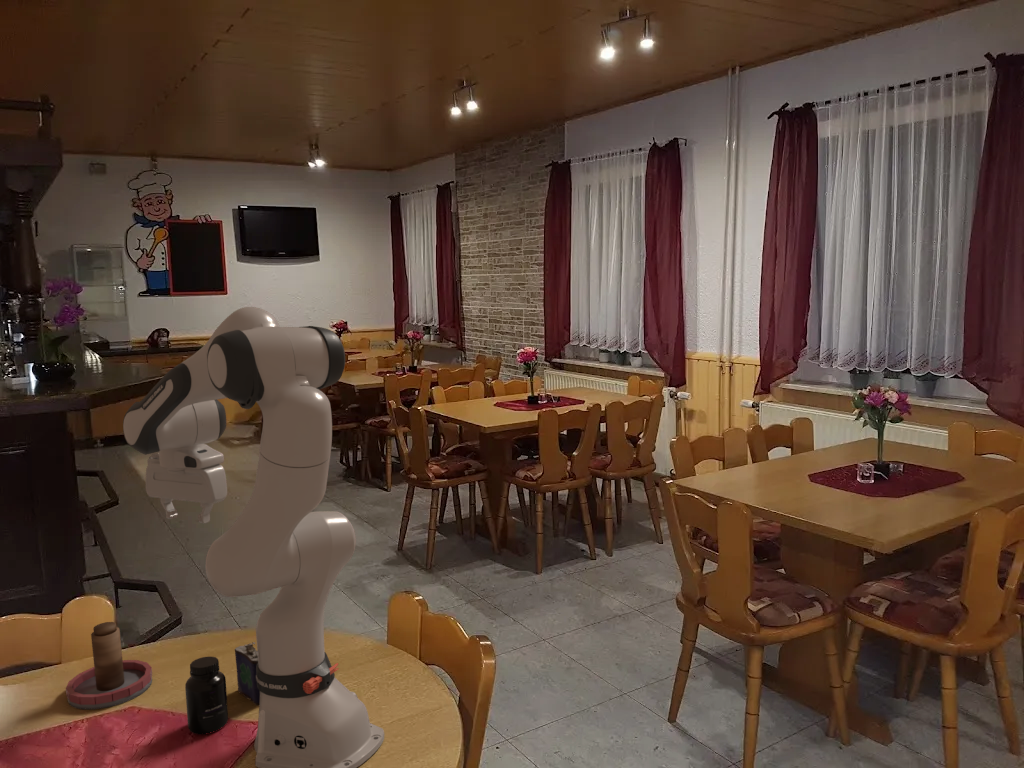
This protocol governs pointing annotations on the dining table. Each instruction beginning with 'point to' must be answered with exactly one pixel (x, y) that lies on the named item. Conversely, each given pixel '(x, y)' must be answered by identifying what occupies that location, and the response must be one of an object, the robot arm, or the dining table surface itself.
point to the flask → (247, 672)
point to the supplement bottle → (206, 696)
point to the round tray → (88, 697)
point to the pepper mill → (107, 656)
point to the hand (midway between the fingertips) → (188, 520)
